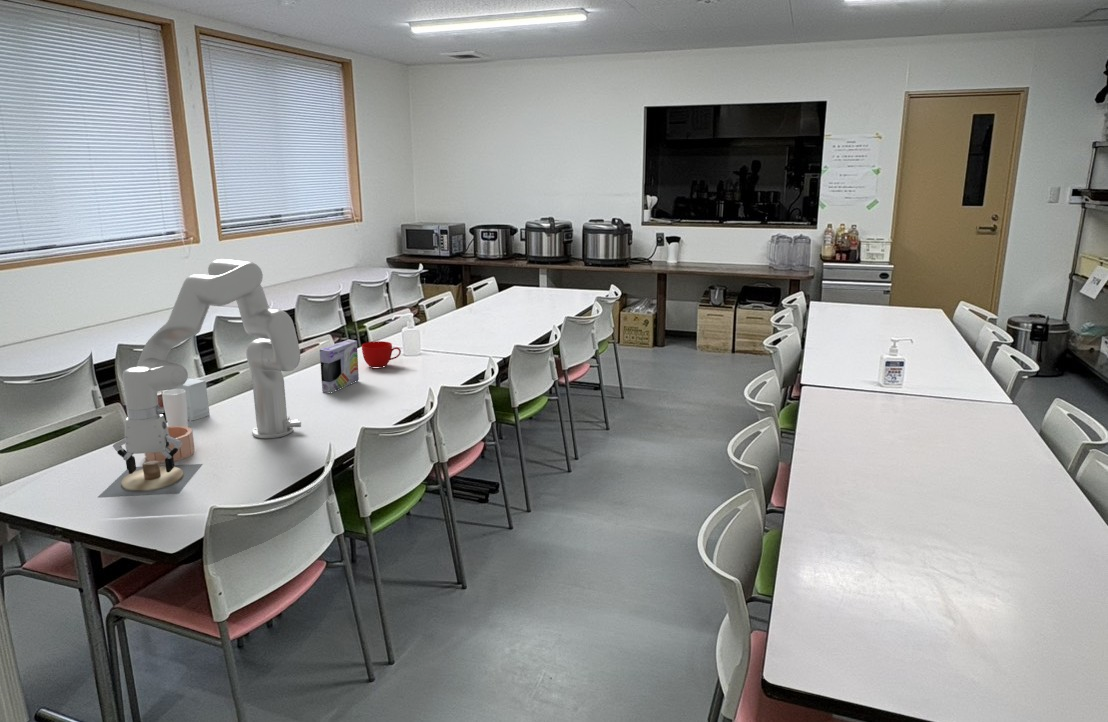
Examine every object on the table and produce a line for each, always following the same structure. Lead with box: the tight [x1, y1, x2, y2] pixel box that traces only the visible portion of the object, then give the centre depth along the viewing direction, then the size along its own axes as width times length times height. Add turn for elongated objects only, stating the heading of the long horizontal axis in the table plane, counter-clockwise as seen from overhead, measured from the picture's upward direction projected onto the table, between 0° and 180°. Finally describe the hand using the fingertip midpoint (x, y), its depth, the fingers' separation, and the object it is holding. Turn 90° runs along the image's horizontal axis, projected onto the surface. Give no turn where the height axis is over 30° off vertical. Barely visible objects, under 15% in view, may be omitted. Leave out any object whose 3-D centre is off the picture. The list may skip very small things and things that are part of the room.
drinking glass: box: [161, 389, 189, 427], centre depth 231 cm, size 7×7×15 cm
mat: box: [97, 463, 203, 498], centre depth 199 cm, size 20×20×1 cm
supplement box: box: [176, 377, 210, 421], centre depth 250 cm, size 7×7×13 cm
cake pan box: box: [319, 338, 360, 394], centre depth 285 cm, size 19×5×18 cm, turn 158°
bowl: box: [143, 425, 196, 464], centre depth 216 cm, size 13×13×7 cm
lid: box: [121, 461, 183, 491], centre depth 199 cm, size 15×15×5 cm
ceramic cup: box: [361, 340, 402, 368], centre depth 317 cm, size 13×17×10 cm
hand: (151, 471), depth 198 cm, fingers open, 9 cm apart
